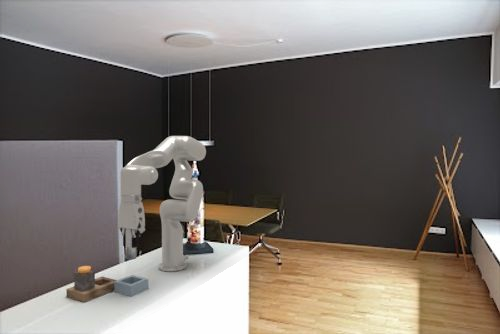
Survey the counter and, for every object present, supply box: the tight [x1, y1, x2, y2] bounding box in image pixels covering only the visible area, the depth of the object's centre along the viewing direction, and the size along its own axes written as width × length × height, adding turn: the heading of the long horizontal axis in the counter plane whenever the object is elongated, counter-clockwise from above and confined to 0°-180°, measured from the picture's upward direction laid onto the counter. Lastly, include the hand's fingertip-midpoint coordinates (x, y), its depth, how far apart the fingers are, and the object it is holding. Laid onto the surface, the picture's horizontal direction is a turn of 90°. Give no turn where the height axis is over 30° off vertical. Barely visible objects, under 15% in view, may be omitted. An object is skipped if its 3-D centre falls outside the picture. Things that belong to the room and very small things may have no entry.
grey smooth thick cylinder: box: [125, 228, 137, 261], centre depth 148 cm, size 4×4×12 cm
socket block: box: [65, 270, 118, 303], centre depth 146 cm, size 16×10×9 cm, turn 150°
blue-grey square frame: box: [113, 274, 149, 297], centre depth 149 cm, size 9×9×4 cm
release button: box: [77, 265, 92, 274], centre depth 142 cm, size 4×4×8 cm
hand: (131, 245), depth 148 cm, fingers closed on grey smooth thick cylinder, 4 cm apart
